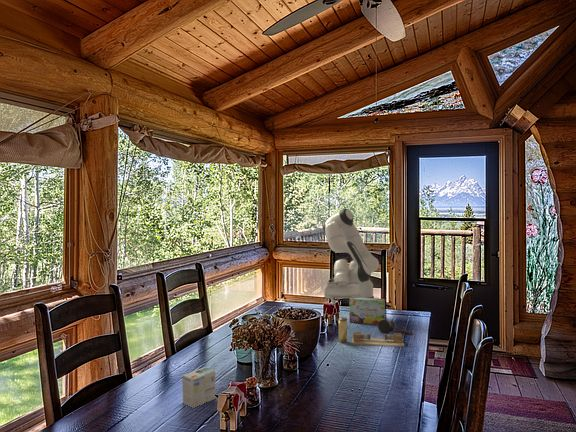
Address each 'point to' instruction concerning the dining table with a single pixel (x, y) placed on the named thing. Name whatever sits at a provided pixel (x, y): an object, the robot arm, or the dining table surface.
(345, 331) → the coupler
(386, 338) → the shaft rig
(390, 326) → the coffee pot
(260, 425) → the dining table surface
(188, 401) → the light bulb box
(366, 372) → the dining table surface
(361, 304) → the snack box
